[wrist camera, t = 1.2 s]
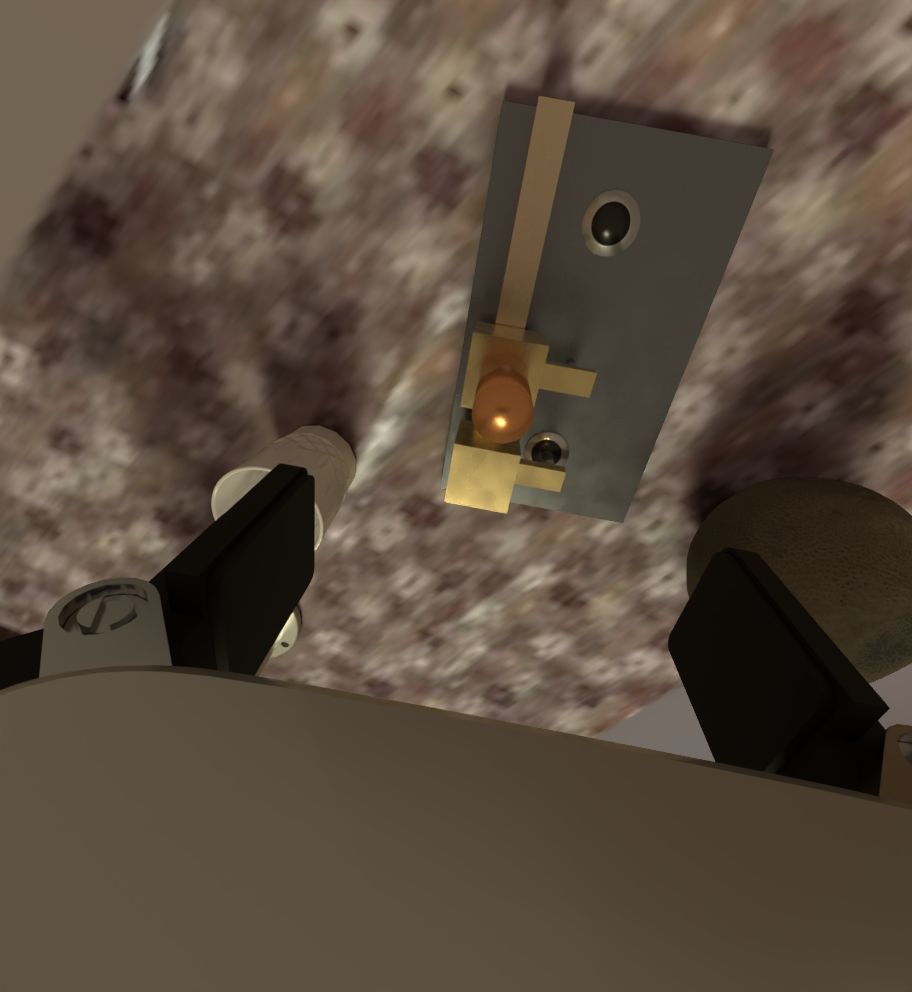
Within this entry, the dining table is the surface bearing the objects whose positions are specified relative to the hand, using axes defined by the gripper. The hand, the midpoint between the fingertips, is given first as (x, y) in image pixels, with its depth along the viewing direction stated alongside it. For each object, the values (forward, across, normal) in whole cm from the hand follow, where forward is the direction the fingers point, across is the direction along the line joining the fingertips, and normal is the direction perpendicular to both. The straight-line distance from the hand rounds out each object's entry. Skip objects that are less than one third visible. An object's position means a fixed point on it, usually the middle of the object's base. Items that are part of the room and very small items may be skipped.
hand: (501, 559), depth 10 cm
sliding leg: (+25, -2, 0) cm, 25 cm away
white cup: (+26, +14, +12) cm, 32 cm away
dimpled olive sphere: (+26, -23, +10) cm, 36 cm away
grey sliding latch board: (+26, -5, -1) cm, 27 cm away
